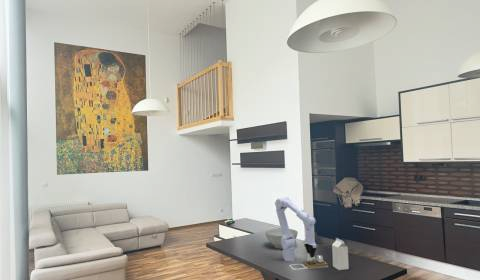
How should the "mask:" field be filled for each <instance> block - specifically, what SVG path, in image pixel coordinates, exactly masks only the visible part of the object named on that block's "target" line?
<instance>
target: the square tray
mask: <svg viewBox="0 0 480 280" xmlns="http://www.w3.org/2000/svg"><path fill="white" fill-rule="evenodd" d="M293 266H302V267H301V268H300V267H299V268H294V267H293ZM288 267H289V268H290V269H291V270H292V271H295V270H296V271H297V270H305V269H306V270H308V269H307V268H306V267H305V266H304V263H295V264H293V263H292V264H288Z"/></svg>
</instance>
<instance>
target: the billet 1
mask: <svg viewBox="0 0 480 280" xmlns="http://www.w3.org/2000/svg"><path fill="white" fill-rule="evenodd" d="M306 254H307V255H306V262H307V263H309V264H313V257H310V253H307V252H306Z"/></svg>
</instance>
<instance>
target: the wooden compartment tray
mask: <svg viewBox="0 0 480 280" xmlns="http://www.w3.org/2000/svg"><path fill="white" fill-rule="evenodd" d="M303 265H304V266H305V267H306V268H307V269H306V270H310V269H319V268H320V269H321V268H328V267H329V266H328V263H327V262H326V261H325V260H323V263H322V264H317V261H313V264H309V263H307V261H303Z"/></svg>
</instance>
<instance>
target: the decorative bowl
mask: <svg viewBox="0 0 480 280" xmlns="http://www.w3.org/2000/svg"><path fill="white" fill-rule="evenodd" d="M289 230H290V234H292V235H293V236H294V239H295V240H297V237H298V233H299V232H298V230H295V229H291V228H289ZM264 234H265V237H266V239H267V240H268V242H269V243H270V244H271V245H273V247H274V248H276V249H279V250H280V249H282V250H283V247H282V245H281V238H282V236H283V234H282V230H281V227H279V228H271V229H266V230H265V231H264ZM287 239H289V238H287Z"/></svg>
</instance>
